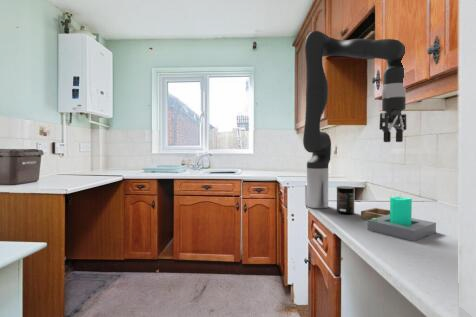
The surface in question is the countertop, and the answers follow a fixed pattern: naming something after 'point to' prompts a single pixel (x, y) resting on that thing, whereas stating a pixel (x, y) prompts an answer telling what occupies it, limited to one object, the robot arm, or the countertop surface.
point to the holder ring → (374, 213)
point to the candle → (400, 210)
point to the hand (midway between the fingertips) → (393, 142)
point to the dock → (402, 228)
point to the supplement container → (345, 200)
